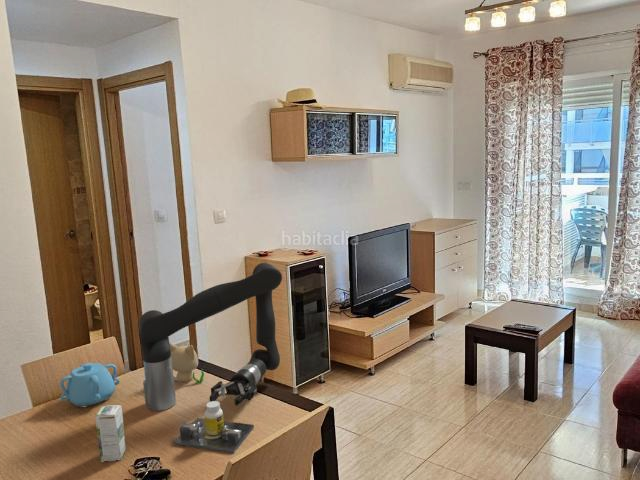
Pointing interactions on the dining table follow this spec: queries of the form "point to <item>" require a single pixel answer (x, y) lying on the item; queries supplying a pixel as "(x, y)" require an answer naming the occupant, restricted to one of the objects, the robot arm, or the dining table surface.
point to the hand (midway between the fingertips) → (223, 401)
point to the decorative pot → (89, 384)
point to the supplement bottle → (213, 419)
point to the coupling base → (227, 442)
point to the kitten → (184, 363)
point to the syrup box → (110, 433)
